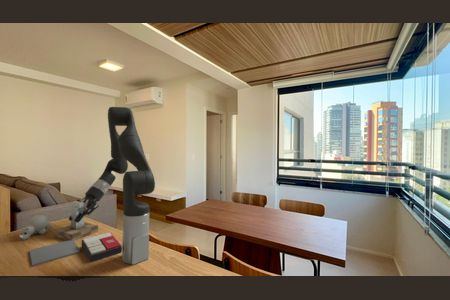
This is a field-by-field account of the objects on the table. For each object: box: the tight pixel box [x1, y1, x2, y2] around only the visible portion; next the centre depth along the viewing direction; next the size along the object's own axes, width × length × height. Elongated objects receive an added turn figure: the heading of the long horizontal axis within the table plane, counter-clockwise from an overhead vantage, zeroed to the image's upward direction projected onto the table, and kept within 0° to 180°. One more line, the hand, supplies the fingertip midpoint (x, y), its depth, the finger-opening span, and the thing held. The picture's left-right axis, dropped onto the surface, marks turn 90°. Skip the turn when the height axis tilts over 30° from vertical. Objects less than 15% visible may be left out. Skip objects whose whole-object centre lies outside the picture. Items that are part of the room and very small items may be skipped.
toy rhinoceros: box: [19, 214, 52, 241], centre depth 95 cm, size 7×12×8 cm, turn 172°
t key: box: [70, 200, 85, 230], centre depth 98 cm, size 6×4×15 cm, turn 68°
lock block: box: [54, 221, 99, 242], centre depth 98 cm, size 12×12×3 cm
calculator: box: [80, 232, 122, 263], centre depth 84 cm, size 11×4×15 cm
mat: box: [28, 240, 82, 268], centre depth 82 cm, size 14×14×1 cm
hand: (73, 220), depth 97 cm, fingers closed on t key, 3 cm apart
